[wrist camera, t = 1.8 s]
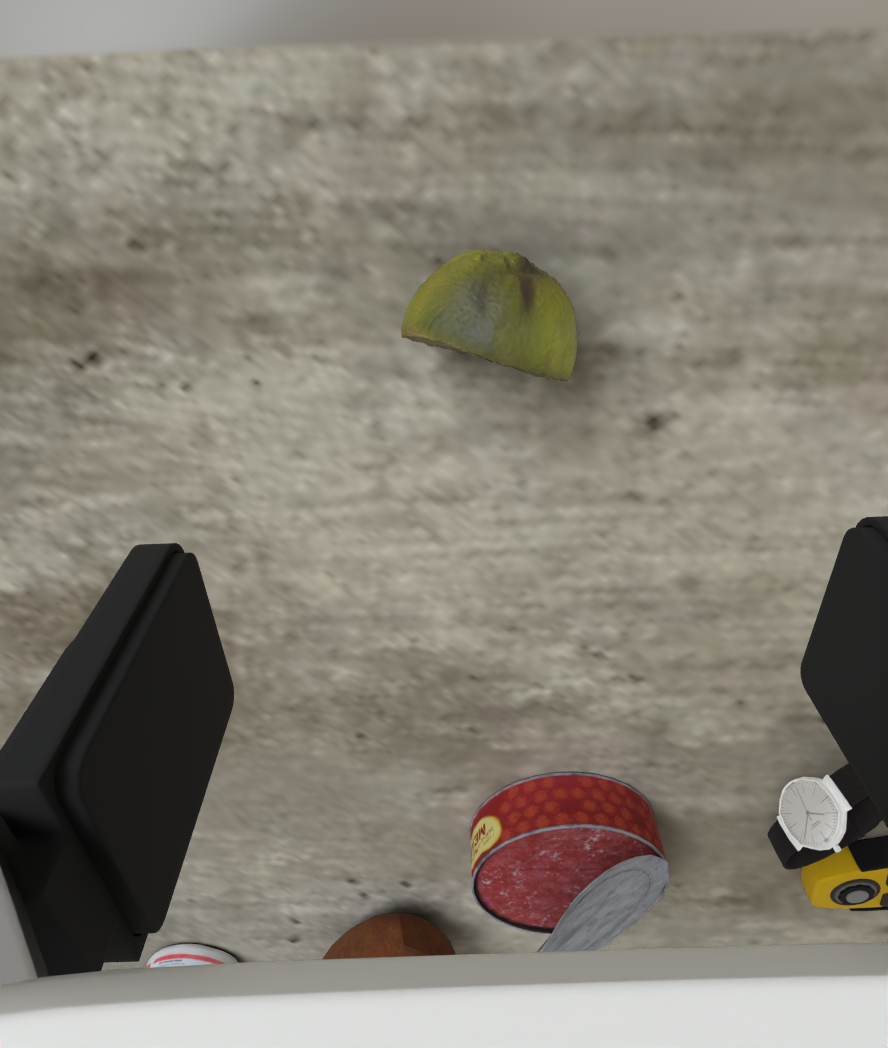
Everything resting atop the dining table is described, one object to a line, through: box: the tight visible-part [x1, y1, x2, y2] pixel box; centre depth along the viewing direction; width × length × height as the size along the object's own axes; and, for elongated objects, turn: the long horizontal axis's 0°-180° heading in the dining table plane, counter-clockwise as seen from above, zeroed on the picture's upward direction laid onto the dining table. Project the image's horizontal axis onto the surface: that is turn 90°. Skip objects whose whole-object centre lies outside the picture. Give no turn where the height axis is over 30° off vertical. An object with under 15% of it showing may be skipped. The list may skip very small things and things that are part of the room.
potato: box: [322, 913, 456, 960], centre depth 40 cm, size 8×11×8 cm
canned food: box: [470, 772, 670, 952], centre depth 35 cm, size 11×10×10 cm
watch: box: [768, 764, 883, 869], centre depth 34 cm, size 8×5×4 cm, turn 156°
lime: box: [401, 250, 577, 381], centre depth 20 cm, size 4×5×5 cm
